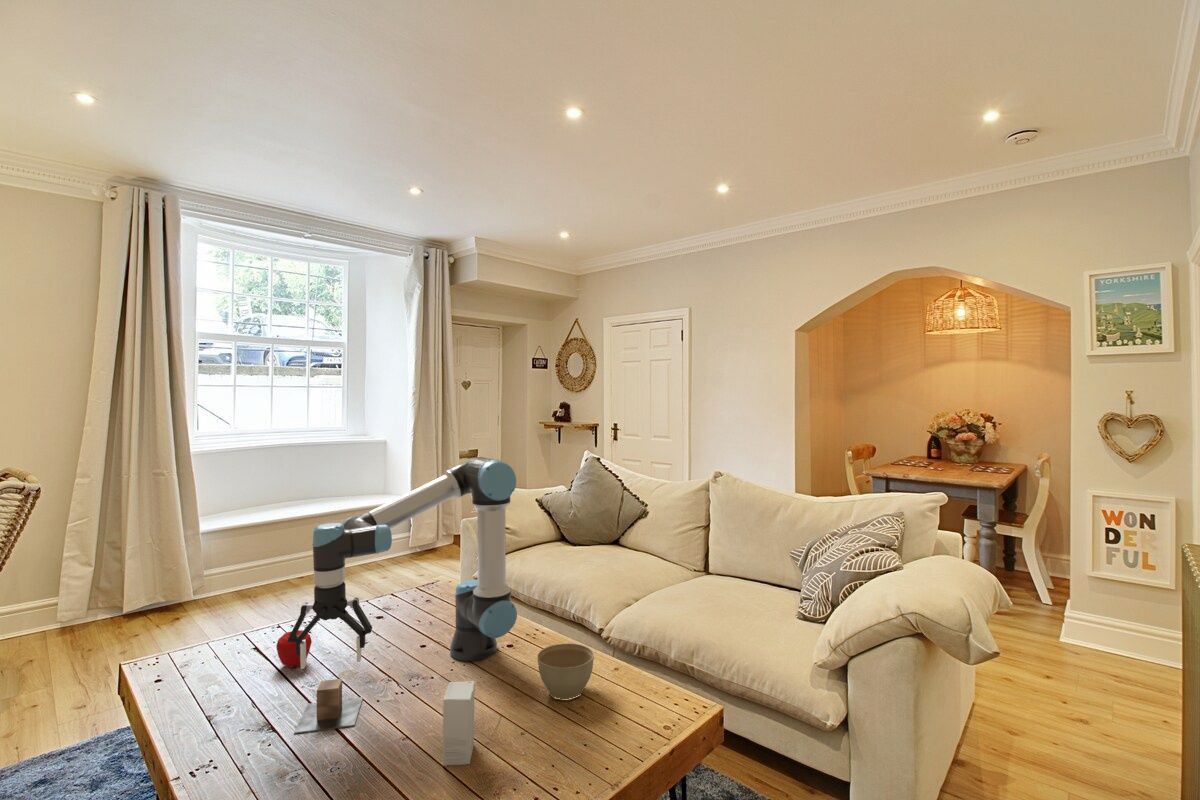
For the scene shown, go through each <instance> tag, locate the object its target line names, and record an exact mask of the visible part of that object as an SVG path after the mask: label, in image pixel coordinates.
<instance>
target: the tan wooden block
mask: <svg viewBox="0 0 1200 800" xmlns="http://www.w3.org/2000/svg"><path fill="white" fill-rule="evenodd" d="M342 700H343V678H337V679H335V678H334V679H329V680H321V681H320V682H319V685H318V687H317V689H316V703H317V721H318V720H326V719H334V718H339V715H340V712H341V709H342Z"/></svg>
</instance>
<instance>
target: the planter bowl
mask: <svg viewBox="0 0 1200 800" xmlns="http://www.w3.org/2000/svg"><path fill="white" fill-rule="evenodd" d="M594 659H595V652H594V650H592V648H590V647H588V646H586V645H583V644H578V643H566V642H565V643H558V644H557V643H556V644H552V645H549V646H547V647H543V649H541V650H539V652H538V653H537V662H538V663H537V664H538V670H539V671H538V672H539V676H540V678H541V680H542V683H543V685H544V686H545V688H546V689H547V690H548V694H549V693H550V694H551V695H552V696H553V697H556V698H560V699H569V698H573V697H576V696H578V695H580V694H581V693H582V694H583V692H584V689H585V687H586V686H587V685H588V682H589V681H590V678H591V676H592V674H593V673H592V672H593V666H594ZM582 691H583V692H582ZM550 694H549V695H550ZM582 694H581V695H582Z"/></svg>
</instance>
